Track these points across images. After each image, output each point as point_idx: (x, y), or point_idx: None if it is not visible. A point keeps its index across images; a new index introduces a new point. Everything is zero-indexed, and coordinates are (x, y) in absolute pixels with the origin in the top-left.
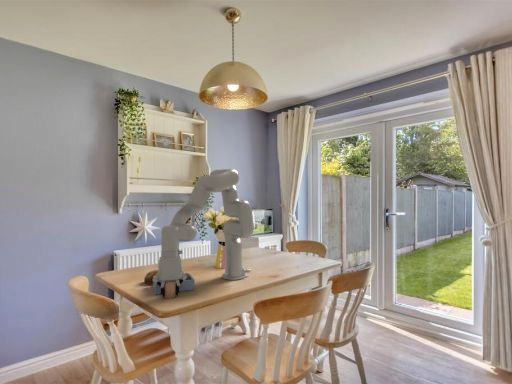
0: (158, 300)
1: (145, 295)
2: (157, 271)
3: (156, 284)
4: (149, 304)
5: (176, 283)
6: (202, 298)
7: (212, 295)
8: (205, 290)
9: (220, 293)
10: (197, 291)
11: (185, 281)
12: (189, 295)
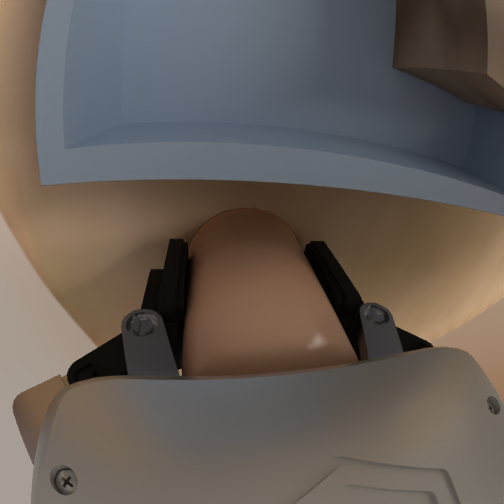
0: (141, 300)
1: (26, 133)
2: None
3: (64, 178)
4: (92, 341)
5: (352, 339)
6: None
7: (456, 307)
8: (489, 218)
9: (486, 290)
10: (460, 214)
11: (479, 207)
12: (388, 274)
